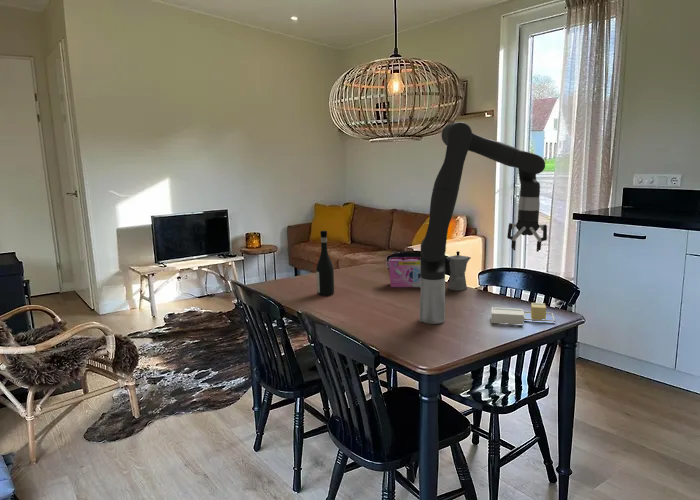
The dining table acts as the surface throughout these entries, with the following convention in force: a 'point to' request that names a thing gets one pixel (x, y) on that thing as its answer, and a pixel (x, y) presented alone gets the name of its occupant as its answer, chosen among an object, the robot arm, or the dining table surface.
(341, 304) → the dining table surface
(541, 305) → the beige block
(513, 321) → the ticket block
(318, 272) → the wine bottle
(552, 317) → the tray
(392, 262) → the gum box
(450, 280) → the coffeepot
